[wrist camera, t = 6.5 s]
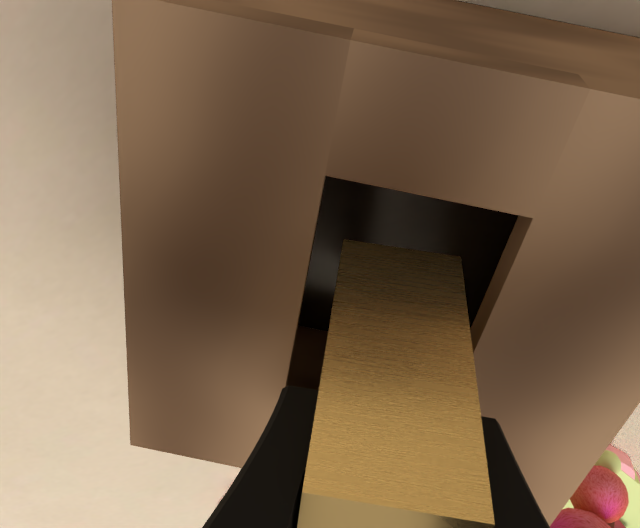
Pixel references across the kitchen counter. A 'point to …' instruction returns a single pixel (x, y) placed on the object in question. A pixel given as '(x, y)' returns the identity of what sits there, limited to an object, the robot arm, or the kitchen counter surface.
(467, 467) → the wooden block
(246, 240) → the coin box
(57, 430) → the kitchen counter surface
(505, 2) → the kitchen counter surface
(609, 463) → the candy landscape model
